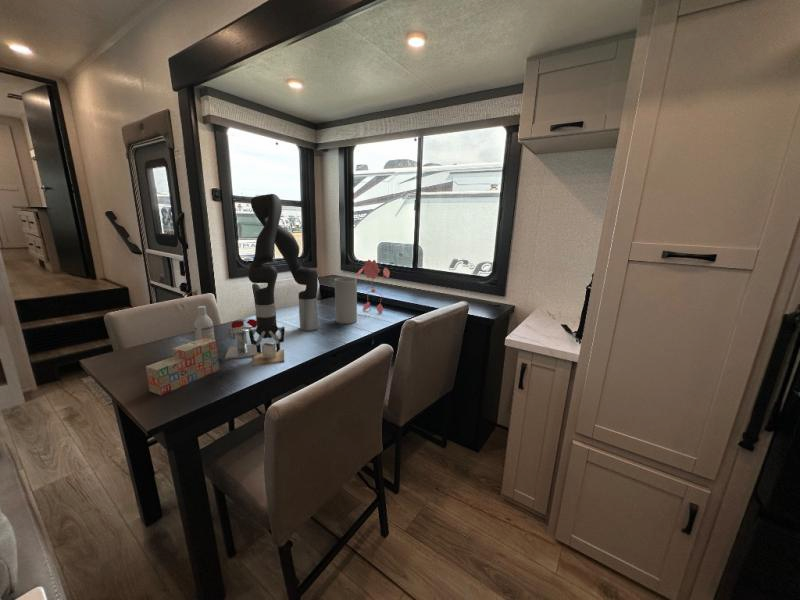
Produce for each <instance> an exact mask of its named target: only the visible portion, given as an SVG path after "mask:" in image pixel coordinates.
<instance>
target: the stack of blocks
mask: <svg viewBox="0 0 800 600" xmlns="http://www.w3.org/2000/svg"><path fill="white" fill-rule="evenodd" d="M172 353H173V356H172V357H169V358H166V359H163V360H160V361H157V362H155V363H152V364H149V365H146V366H145V370H146V378H147V384H148V389H149V392H151V393H154V394H157V395H159V396H163V395H165V394H167V393H169V392H172V391H174V390H178V389H179V388H182V387H184V386H185V385H188V384H190V383H193V382H194V381H197V380H199V379H202V378H204V377H206V376H208V375H210V374H213V373H215V372H217V371H219V370H220V361H219V350H218V344H217V340H216V339H215V340H212V339H208V338H204V339H200V340H196V339H195V340H194V341H190V342H188V343H185V344H182V345H180V346H179V345H178V346H176V347H173V348H172Z"/></svg>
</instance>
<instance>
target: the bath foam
mask: <svg viewBox="0 0 800 600" xmlns="http://www.w3.org/2000/svg"><path fill="white" fill-rule="evenodd" d="M197 314H198V315H197V317H196V319H195V320H194V325H193V326H194V334H195V335H194V336H195V341H196V340H200V339H204V338H208V339H212V340H216V338H215V329H214V323H213V320H212V319H211V318H210V316H209V315H208V314H207V308H206V306H205V305H200V306H197Z"/></svg>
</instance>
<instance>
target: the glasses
mask: <svg viewBox="0 0 800 600" xmlns="http://www.w3.org/2000/svg"><path fill="white" fill-rule="evenodd" d="M245 321H246V324H247V326H250V327H252V328H257V322H256V318H253V319H248V320H247V319H246V320H236V321H232V323H231V325H230V327H231V328H236V327H245V324H244V322H245ZM232 335H233V340H236V333H232Z"/></svg>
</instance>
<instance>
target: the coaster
mask: <svg viewBox="0 0 800 600" xmlns="http://www.w3.org/2000/svg"><path fill="white" fill-rule="evenodd" d="M261 356H263V355H262V351H261V354H259V352H258V353H257V355H254V357H252V364H251V365H252V366H262V365H270V364H279V363H285V349H284V348H283V349H280V350H278V352H276V356H275V357H273V358H269V359H266V358H261Z"/></svg>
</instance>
